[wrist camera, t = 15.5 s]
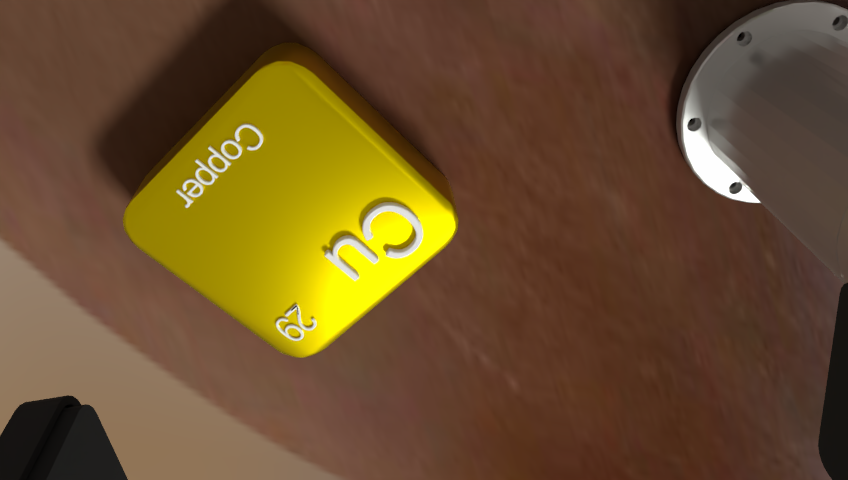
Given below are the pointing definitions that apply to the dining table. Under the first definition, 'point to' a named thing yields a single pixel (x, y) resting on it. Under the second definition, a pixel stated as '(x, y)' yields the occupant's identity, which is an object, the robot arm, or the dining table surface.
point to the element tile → (293, 204)
